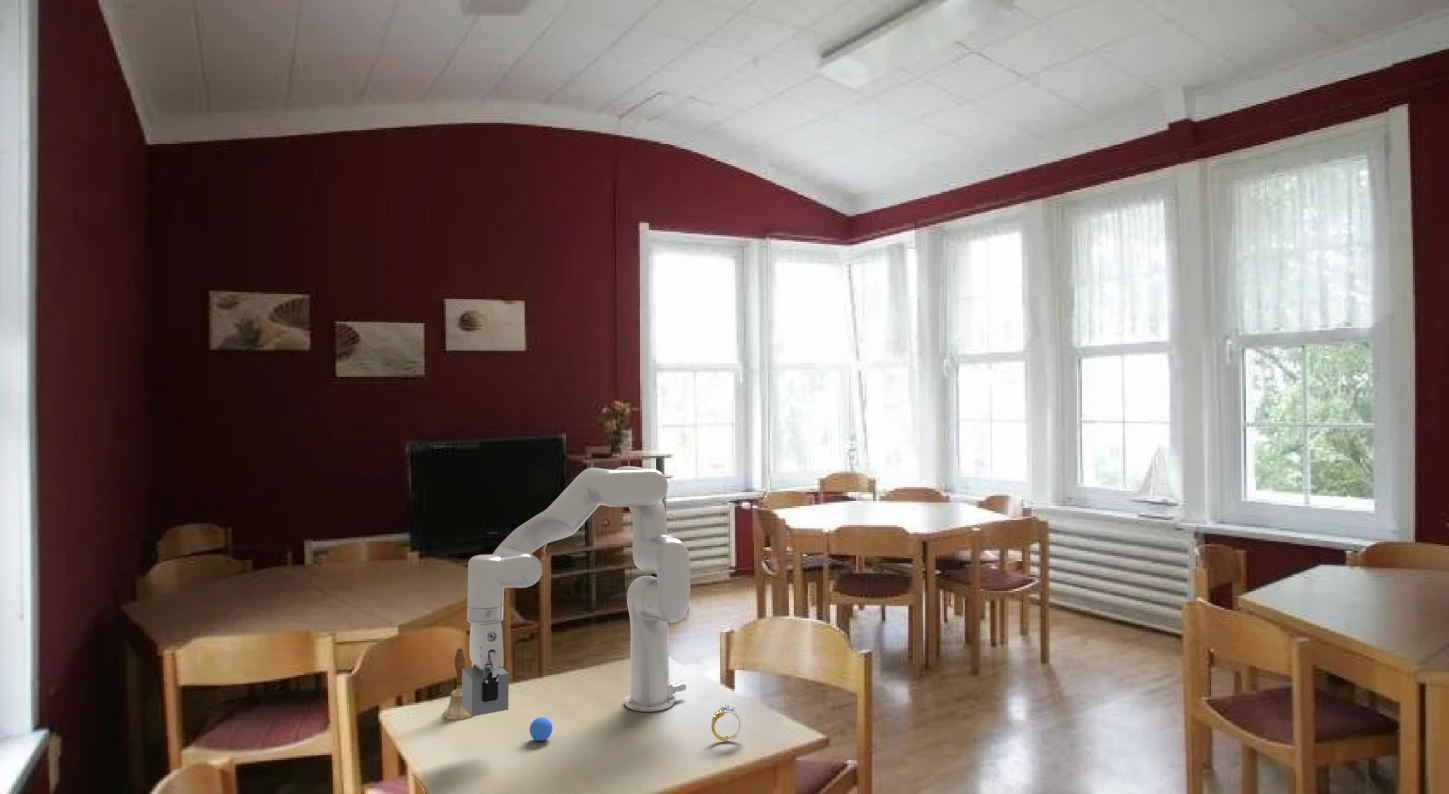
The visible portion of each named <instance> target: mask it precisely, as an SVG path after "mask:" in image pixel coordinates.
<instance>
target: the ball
mask: <svg viewBox="0 0 1449 794" xmlns="http://www.w3.org/2000/svg"><path fill="white" fill-rule="evenodd" d="M529 733H530V734H529V735H530V736H531V738H532V739H534V740H535V741H538V742H543V741H547V739H549V737H551V735H552V733H553V724H552V722H551V720H550V719H548V718H547V717H543V716H540V717H536V718H535V719H534V720H533V721H532V722H531V724H530V726H529Z"/></svg>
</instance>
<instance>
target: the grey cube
mask: <svg viewBox="0 0 1449 794" xmlns="http://www.w3.org/2000/svg"><path fill="white" fill-rule="evenodd" d="M485 667H491V665H488V666H485ZM489 672H491V671H487V676H488V674H489ZM498 674H499V675H498V699H497V700H494V701H488V702H483V701H482V683H483V682H484V677H483V671H482V670H480V669H479V668H478V667H472V668H471V667H467V668H466V667H465V669H462V705H463V707H464V708H465V709H466V710H467V711H468V713H469V714H470V715H471V716H473V717H477V716H482V715H487V714H492V713H497V712H498V713H500V712H503V711H508V710H509V697H510V696H509V692H510V691H509V690H510V689H509V686H510V685H509V684H510V682H509V680H510V678H509V677H510V673H509V672H508V671H507V670H506V669H505V668H503V667H502V668H499V671H498Z"/></svg>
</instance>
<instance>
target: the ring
mask: <svg viewBox="0 0 1449 794" xmlns="http://www.w3.org/2000/svg"><path fill="white" fill-rule="evenodd" d="M735 709H736V706H733V705H730V704H728V705H727V704H724V706H720V708H718V709H717V710H716V711H714V712H715V713H714V714H713V716H712V719H711V722H710V723H711V724H710V726H711V727H710V728H711V732H712V734H713V736H714V737H715V738H716V739H717V740H719V741H722V742H725V741H729V742H731V741H733V740H735V739H737V738H738V737H739V736H740V735H741V733H742V729H743V719H742V716H741V715H740V713H739V712H738V711H736V710H735ZM726 714H733V716H735V717H736V718H737V720H738V723H739V724H738V729H737V731H736V732H735V734H733V735H731V736H728V735H727V736H722V735H720V734H718V733H717V730H716V729H715V725H716V723H717V721H718V720H719V719H720V718H721V717H723V716H725V715H726Z"/></svg>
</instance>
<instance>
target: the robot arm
mask: <svg viewBox="0 0 1449 794" xmlns="http://www.w3.org/2000/svg"><path fill="white" fill-rule="evenodd" d="M668 488H669V484H668V480H667V477H666V476H665V474H664V473H662V472H661V471H660V470H658V469H655V468H647V467H639V466H631V465H627V466H626V465H625V466H619V467H617V468H616V469H610V468H609V469H607V468H602V467H600V468H599V467H589V468H585V469H584V470H583V471H581V472H580V473H579V474H578V475H577V476H576V477H575V478H574V479H573V481H572V482H570V484H569V485H568V486H567V487H566V488H565V489H564V490H563V491H562V492H561V493H560V494H559V496H557V498H556V499H555V500H554V501H552V502H551V504H550V505H549V506H548V507H547V508H546V509H545V510H543V511H542V512H540V513H538V514H536V515H535V516H533V517H532V518H530V519H528V520H527V521H525V522H524V523H522V524H521V525H518V526H517V528H515V529H514V530H513V531H511V533H510V534H509V535H508V536H507V537H505V539H504V540H503V541H502V542H501V543H500V544H499V545H498V546H497V548H496V549H495V550H494V551H493V553H492V554H478V555H474V556H472V557H471V558H470V559H469V560H468V566H467V606H466V607H467V608H466V609H467V611H466V612H467V613H466V614H467V616H466V617H467V618H466V620H467V622H468V623H469V624H470V629H469V645H468V646H469V660H470V661H471V664H470V668H472V667H478V668H479V669H480V670H482V671H483V677H484V682H483V683H482V701H483V702H488V701H494V700H497V699H498V675H499V674H498V671H499V668H503V667H504V639H503V637H504V636H503V627H502V622H503V620H504V601H505V600H504V596H505V594H504V593H505V588H507V589H508V588H511V589H513V588H514V589H515V588H517V589H523V588H528V587H532V586H533V585H535V584H536V583H538V582H539V580H540V579H541V577H542V575H543V563H542V562H541V561H540V559H539V558H538V557H537V556H535V555H533V553H534V552H535V551H536V550H539V549H540V548H541V547H543V546H545V545H547V544H549V543H552V542H554V541H559V540H562V539H566V538H568V537H570V536H573V535H574V534H575V533H577V532H578V530H579V529H580V528H581V527H582V526H583V525H584V524H585V522H586V521H587V520H588V519H589V517H591V516H592V514H593V513H594V512H595V511H596V510H597V509H598V507H600V506H606V507H609V508H610V507H611V508H613V507H614V508H619V507H620V508H629V510H630V513H631V520H632V521H631V522H632V559H633V564H634V565H635V567H637V569H639V570H640V571H644V572H646V573H650V574H654V575H656V577H655V576H651V575H642V576H639V577H637V578H635V579H634V580H633V581H632V582H631V584H629V587H628V589H627V593H626V604H627V609H628V614H629V616H628V617H629V622H630V623H629V625H630V693H628V694H627V695H626V696H625V697H624V701H623V702H624V706H625V707H626V708H628V709H630V710H633V711H637V712H644V713H645V712H646V713H649V712H650V713H651V712H660V711H664V710H667V709H670V708H671V707H673V706H674V705H675V701H676V698H675V696H674V694H675V695H676V693H677V692H678V693H679V692H683V691H684V692H685V691H686V690H687V684H686V683H685V682H681V683H677V682H676V681H672V682H669V681H670V677H669V675H670V674H669V673H670V670H669V669H670V666H669V665H670V664H669V662H670V661H669V660H670V659H669V657H670V654H669V653H670V652H669V651H670V646H669V645H670V643H669V641H670V632H669V631H670V629H669V625H668V623H672V624H673V623H678V622H679V621H681V620H682V619H684V617H685V616H686V614H687V612H688V611H689V607H690V600H691V557H690V552H689V550H688V548H687V546H686V544H685V543H684V542H682V540H680V539H678V538H676V537H671V536H668V526H667V525H668V523H667V513H666V508H665V504H664V501H663V500H664V498H665V497H666V495H667V492H668ZM488 665H491V667H485V666H488ZM487 671H491V672H489V674H488V676H487Z"/></svg>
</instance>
